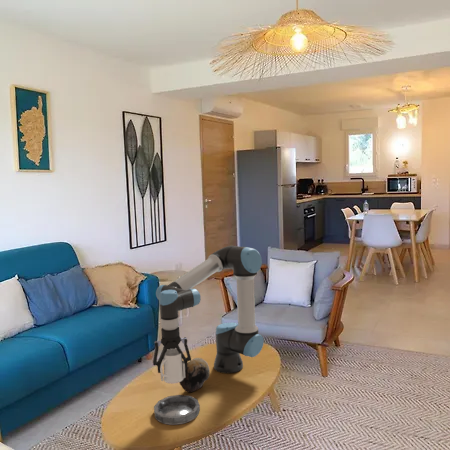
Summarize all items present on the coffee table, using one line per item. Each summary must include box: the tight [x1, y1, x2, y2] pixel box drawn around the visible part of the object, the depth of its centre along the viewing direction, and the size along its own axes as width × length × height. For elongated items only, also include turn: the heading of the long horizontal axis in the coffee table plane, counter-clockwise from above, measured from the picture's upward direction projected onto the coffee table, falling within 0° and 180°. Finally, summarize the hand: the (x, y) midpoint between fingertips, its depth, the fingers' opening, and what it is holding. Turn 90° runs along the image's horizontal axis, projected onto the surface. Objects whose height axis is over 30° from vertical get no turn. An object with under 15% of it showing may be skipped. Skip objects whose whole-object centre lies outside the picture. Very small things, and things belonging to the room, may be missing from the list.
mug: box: [160, 348, 184, 384], centre depth 196 cm, size 12×8×12 cm
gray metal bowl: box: [153, 394, 201, 426], centre depth 198 cm, size 19×19×3 cm
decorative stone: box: [178, 357, 211, 393], centre depth 217 cm, size 18×9×15 cm, turn 137°
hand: (173, 378), depth 197 cm, fingers closed on mug, 9 cm apart
